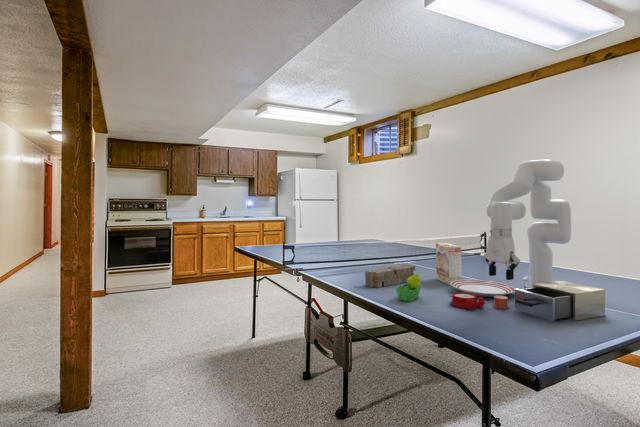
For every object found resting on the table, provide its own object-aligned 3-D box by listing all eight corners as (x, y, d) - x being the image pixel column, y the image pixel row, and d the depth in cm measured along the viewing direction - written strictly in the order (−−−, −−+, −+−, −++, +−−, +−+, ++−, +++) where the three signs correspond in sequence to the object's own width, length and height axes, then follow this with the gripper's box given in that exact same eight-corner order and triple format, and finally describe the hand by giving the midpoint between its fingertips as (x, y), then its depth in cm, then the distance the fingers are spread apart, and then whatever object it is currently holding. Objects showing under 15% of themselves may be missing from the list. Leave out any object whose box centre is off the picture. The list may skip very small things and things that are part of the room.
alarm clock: (460, 291, 155) (490, 290, 142) (463, 306, 154) (494, 306, 141) (443, 294, 150) (472, 294, 137) (445, 309, 149) (475, 310, 136)
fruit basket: (405, 294, 164) (405, 270, 164) (424, 297, 159) (424, 272, 159) (395, 300, 155) (394, 274, 155) (415, 303, 150) (414, 276, 150)
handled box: (542, 323, 122) (542, 300, 122) (504, 310, 136) (504, 290, 136) (582, 316, 129) (582, 294, 128) (541, 305, 143) (542, 285, 143)
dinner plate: (505, 286, 178) (505, 279, 178) (524, 301, 151) (524, 293, 151) (446, 284, 184) (446, 278, 183) (455, 298, 157) (455, 291, 157)
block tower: (375, 290, 177) (416, 280, 194) (375, 273, 177) (415, 264, 193) (365, 287, 184) (405, 277, 200) (364, 270, 183) (404, 262, 200)
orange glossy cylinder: (491, 306, 145) (491, 296, 145) (500, 304, 147) (500, 295, 147) (501, 309, 141) (501, 299, 140) (510, 308, 142) (510, 298, 142)
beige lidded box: (575, 320, 126) (575, 293, 126) (532, 308, 142) (532, 283, 142) (604, 315, 132) (605, 289, 132) (560, 303, 147) (560, 280, 147)
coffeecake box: (435, 278, 197) (435, 243, 197) (448, 278, 198) (448, 242, 197) (448, 285, 182) (448, 246, 182) (461, 284, 183) (461, 246, 182)
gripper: (477, 232, 150) (476, 274, 150) (512, 235, 133) (512, 282, 134) (491, 231, 152) (490, 272, 153) (527, 234, 136) (527, 281, 137)
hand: (500, 277), depth 143 cm, fingers open, 7 cm apart
